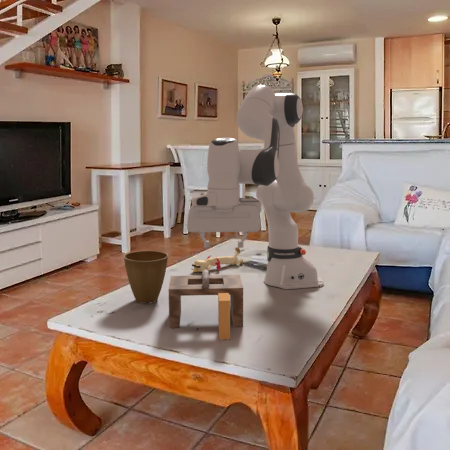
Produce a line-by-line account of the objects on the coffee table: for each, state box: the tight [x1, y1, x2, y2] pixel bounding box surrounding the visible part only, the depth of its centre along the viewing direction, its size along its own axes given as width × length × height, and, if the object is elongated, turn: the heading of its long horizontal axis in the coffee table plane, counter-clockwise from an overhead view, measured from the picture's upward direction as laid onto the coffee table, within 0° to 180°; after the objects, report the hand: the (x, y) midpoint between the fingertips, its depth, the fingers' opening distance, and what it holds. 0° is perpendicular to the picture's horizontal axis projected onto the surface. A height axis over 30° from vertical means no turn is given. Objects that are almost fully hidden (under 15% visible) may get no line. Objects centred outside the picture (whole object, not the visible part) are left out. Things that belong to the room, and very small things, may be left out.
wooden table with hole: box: [168, 269, 244, 329], centre depth 159 cm, size 22×14×14 cm, turn 93°
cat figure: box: [191, 246, 245, 273], centre depth 218 cm, size 10×9×25 cm
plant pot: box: [123, 250, 169, 304], centre depth 177 cm, size 15×15×16 cm
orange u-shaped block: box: [217, 293, 231, 340], centre depth 147 cm, size 7×3×11 cm, turn 3°
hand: (223, 247), depth 143 cm, fingers open, 8 cm apart
